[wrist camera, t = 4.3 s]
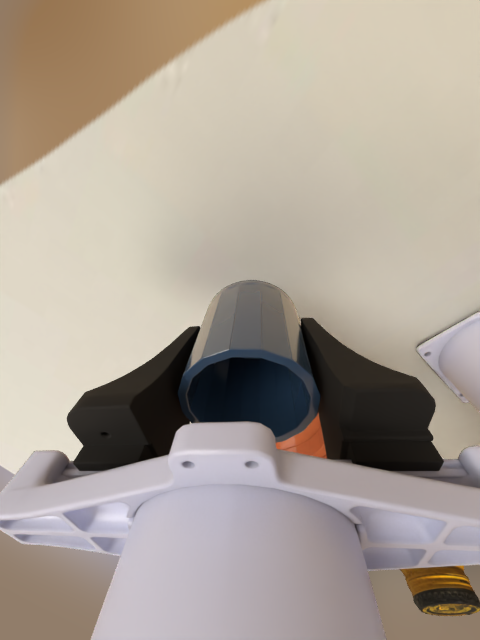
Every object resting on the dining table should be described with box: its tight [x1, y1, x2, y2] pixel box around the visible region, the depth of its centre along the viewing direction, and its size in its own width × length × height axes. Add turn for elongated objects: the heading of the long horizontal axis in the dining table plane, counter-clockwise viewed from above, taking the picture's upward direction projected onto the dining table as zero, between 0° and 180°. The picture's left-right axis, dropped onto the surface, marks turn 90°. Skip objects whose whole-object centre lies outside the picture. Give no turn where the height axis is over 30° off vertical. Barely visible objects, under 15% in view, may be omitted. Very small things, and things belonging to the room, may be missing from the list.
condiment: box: [400, 565, 480, 616], centre depth 27 cm, size 7×8×12 cm
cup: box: [177, 280, 321, 443], centre depth 13 cm, size 6×6×6 cm
